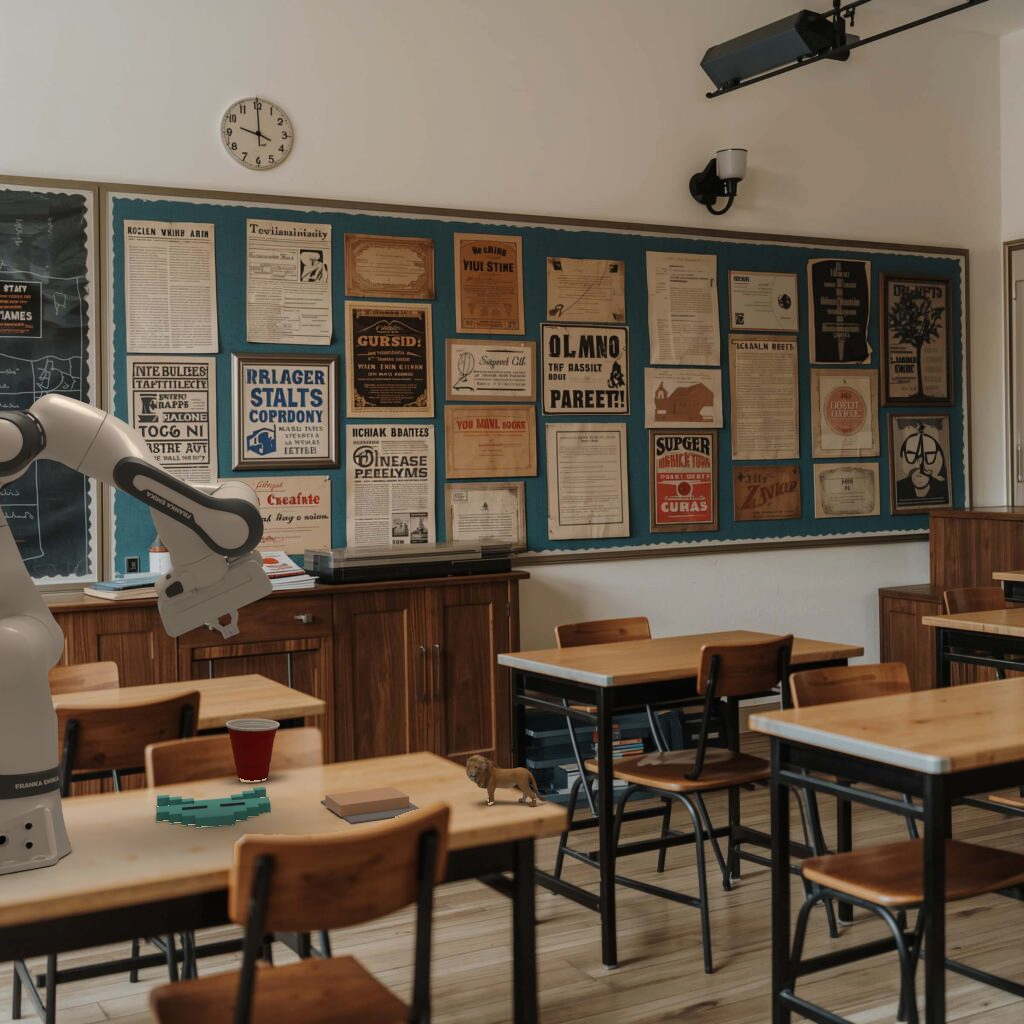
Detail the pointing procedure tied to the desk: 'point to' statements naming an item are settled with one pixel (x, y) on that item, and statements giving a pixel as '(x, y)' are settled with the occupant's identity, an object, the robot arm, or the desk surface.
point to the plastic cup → (252, 746)
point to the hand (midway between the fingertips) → (231, 635)
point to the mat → (376, 814)
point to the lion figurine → (500, 778)
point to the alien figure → (213, 808)
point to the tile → (366, 801)
